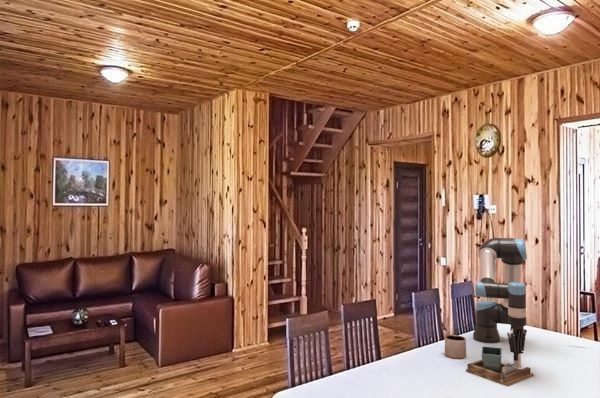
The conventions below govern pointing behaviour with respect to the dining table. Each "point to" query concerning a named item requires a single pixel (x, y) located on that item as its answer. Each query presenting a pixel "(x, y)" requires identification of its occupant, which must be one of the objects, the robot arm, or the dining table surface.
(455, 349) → the planter
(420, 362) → the dining table surface
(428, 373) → the dining table surface
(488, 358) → the flower pot
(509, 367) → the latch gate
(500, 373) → the frame
